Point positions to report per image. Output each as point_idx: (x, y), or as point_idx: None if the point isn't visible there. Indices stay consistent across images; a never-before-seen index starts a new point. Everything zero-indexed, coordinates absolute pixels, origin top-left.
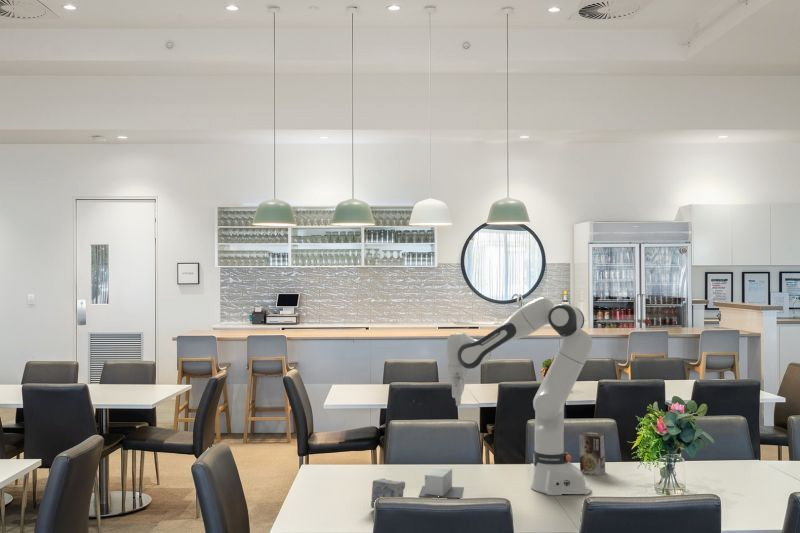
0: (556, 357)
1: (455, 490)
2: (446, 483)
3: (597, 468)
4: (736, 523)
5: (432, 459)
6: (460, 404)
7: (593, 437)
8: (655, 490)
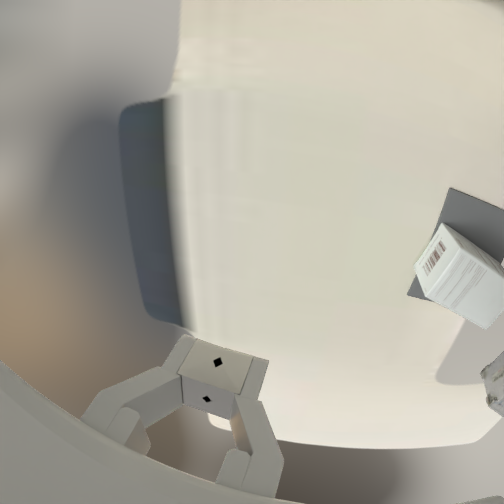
0: None
1: (470, 219)
2: (490, 260)
3: None
4: None
5: (136, 228)
6: (195, 338)
7: None
8: None
